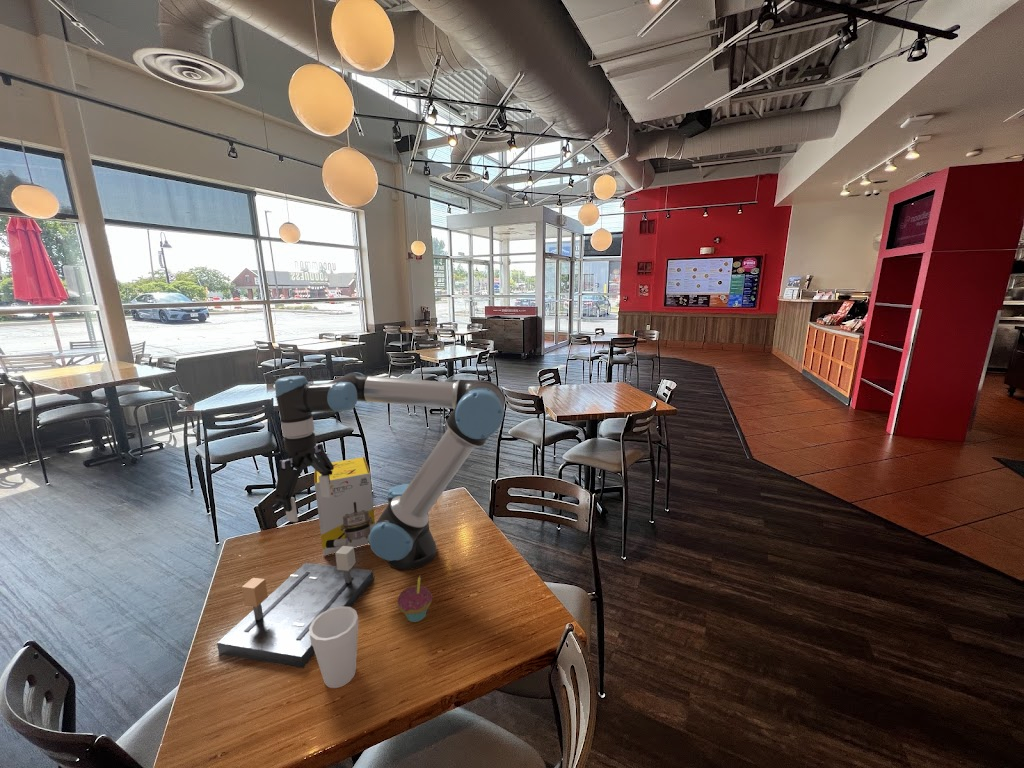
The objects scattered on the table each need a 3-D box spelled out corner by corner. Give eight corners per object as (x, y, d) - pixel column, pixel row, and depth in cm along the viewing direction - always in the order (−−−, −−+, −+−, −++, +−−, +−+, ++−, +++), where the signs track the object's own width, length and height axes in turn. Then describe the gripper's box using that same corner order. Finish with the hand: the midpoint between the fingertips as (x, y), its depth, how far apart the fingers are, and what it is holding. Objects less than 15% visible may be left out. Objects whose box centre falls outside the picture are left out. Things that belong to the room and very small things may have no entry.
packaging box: (323, 556, 131) (314, 483, 126) (322, 532, 146) (314, 465, 141) (376, 543, 138) (370, 473, 133) (370, 520, 152) (364, 456, 148)
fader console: (374, 579, 120) (373, 569, 119) (304, 668, 91) (302, 656, 90) (306, 571, 124) (304, 562, 123) (218, 653, 95) (216, 641, 94)
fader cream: (357, 578, 115) (353, 546, 113) (350, 586, 112) (346, 554, 110) (346, 577, 116) (342, 545, 114) (339, 585, 113) (335, 552, 111)
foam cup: (325, 658, 93) (319, 607, 91) (367, 654, 94) (362, 604, 91) (309, 697, 84) (301, 642, 81) (355, 693, 85) (349, 638, 82)
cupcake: (439, 607, 108) (436, 566, 106) (421, 631, 100) (418, 588, 98) (410, 600, 111) (407, 560, 109) (391, 623, 103) (387, 580, 101)
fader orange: (270, 613, 103) (265, 579, 101) (259, 624, 99) (253, 588, 97) (258, 612, 103) (253, 577, 101) (247, 622, 100) (241, 586, 98)
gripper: (318, 420, 122) (327, 487, 126) (248, 450, 99) (263, 531, 103) (340, 421, 121) (349, 488, 125) (275, 451, 97) (289, 533, 101)
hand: (310, 508), depth 114 cm, fingers open, 13 cm apart
